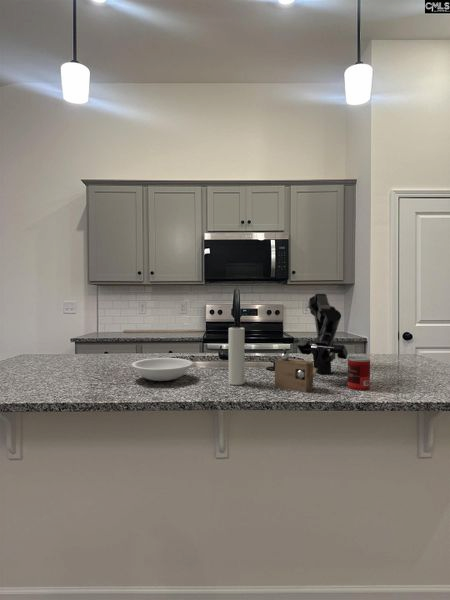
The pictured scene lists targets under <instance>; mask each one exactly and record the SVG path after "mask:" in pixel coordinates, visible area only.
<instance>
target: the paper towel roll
mask: <svg viewBox="0 0 450 600" xmlns="http://www.w3.org/2000/svg"><path fill="white" fill-rule="evenodd" d="M245 329H246V328H245V327H242V326H241V327H240V326H234V327H229V328H228V384H229V385H233V386H240V385H244V384H245Z"/></svg>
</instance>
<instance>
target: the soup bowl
mask: <svg viewBox="0 0 450 600" xmlns="http://www.w3.org/2000/svg"><path fill="white" fill-rule="evenodd" d="M192 365H194V363H193V361H192V360H189V359H186V358H177V357H155V358H154V357H153V358H146V359H140V360H137V361H134V362H132V363H131V367H132V368H134V369H136V372H137V373H138V375H140V376H141V377H143V378H144V379H146V380H149V381H156V382H157V381H158V382H163V381H164V382H165V381H167V382H168V381H172V380H175V379H179V378H181V377H182V376H184V374H185V373H187V371H188V369H189V368H190V367H191V366H192Z"/></svg>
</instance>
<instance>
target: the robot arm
mask: <svg viewBox="0 0 450 600" xmlns="http://www.w3.org/2000/svg"><path fill="white" fill-rule="evenodd" d="M327 296H328V295H327V294H326V293H315V294H314V295H313V296H312V297H310V298H309V300H308V303H307V304H308V305H307V306H308V309H309V312H310V314H311V315H313V317H314V323H315V329H316V336H317V337H316V339H315V340H314V343H313V344H311V343H310V342H309V341H307V340H298V342H297V345H296V347H297V349H298V350H299V352H300V354H303V355H306V356H307V355H308V356H309V355H310V354H311V355H312V358H313V366H314V367H315V369H316V374H319V375H331V374H335V372H334V371H332V362H333V361H334V360H336V357H337V358H338V359H343V360H346V359H348V356H349V355H348V351H347V348H346V346H345V345H344V344H341V343H339V344H337V343H335V340H334V339H335V336H336V334H337V330H338V326H339V323H340V322H341V318H342V314H341V312H340V311H339V310H337V309H336V308H335V306H332V305H330V303H329V299H328V297H327ZM336 354H337V355H336Z"/></svg>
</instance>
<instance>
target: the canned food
mask: <svg viewBox="0 0 450 600" xmlns="http://www.w3.org/2000/svg"><path fill="white" fill-rule="evenodd" d="M370 381H371V358H370V357H367V356H361V355H353V356H347V386H348V388H349V389H351V390H355V391H367V390H369V389H370V387H371V382H370Z"/></svg>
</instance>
